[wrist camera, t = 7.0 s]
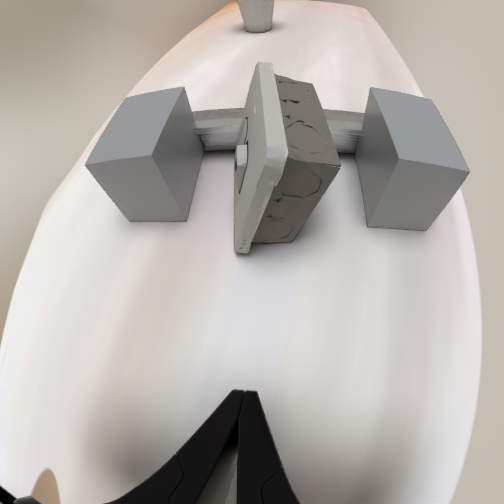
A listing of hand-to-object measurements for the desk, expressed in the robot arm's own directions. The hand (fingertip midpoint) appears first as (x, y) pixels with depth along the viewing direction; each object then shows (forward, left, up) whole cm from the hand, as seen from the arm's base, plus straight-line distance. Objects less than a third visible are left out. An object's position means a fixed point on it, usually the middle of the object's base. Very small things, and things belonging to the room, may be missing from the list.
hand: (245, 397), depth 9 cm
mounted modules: (+14, 0, -7) cm, 16 cm away
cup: (+52, +4, -7) cm, 53 cm away
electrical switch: (+13, 0, -7) cm, 15 cm away
